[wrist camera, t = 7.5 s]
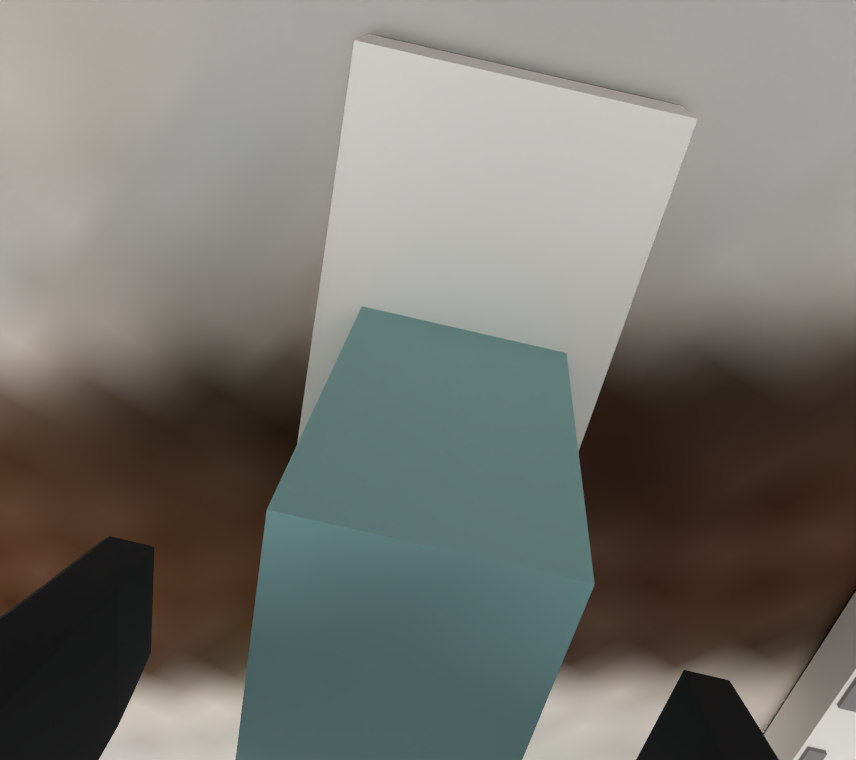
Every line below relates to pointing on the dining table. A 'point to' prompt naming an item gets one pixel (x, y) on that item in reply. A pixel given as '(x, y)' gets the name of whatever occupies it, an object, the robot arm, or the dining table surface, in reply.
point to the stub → (450, 407)
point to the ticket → (822, 701)
